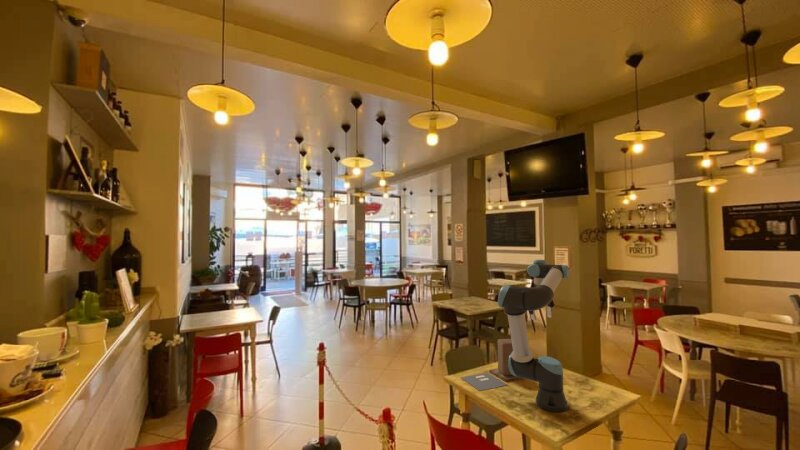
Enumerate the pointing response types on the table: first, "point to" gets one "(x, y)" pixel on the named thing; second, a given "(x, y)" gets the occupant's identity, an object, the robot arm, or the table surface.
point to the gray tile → (483, 381)
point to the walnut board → (503, 377)
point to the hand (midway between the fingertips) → (541, 318)
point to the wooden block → (504, 355)
